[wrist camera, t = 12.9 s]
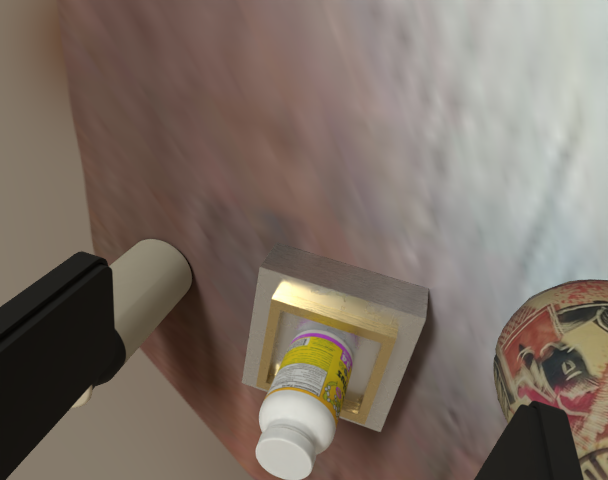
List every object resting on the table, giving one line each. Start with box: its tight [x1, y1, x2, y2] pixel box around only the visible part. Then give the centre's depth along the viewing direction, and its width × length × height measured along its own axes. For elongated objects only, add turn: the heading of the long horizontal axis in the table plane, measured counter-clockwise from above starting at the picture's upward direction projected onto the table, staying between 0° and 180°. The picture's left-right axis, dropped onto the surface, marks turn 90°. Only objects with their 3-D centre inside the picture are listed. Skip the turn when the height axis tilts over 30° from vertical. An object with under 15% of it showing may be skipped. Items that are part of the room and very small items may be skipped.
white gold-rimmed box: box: [242, 243, 429, 432], centre depth 50 cm, size 16×18×6 cm
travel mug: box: [71, 239, 192, 408], centre depth 48 cm, size 8×8×18 cm
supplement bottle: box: [256, 330, 353, 480], centre depth 42 cm, size 7×7×13 cm
